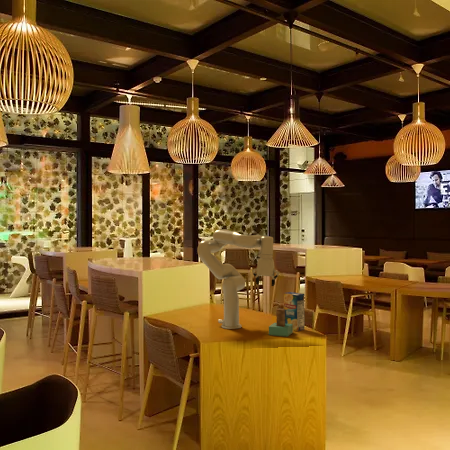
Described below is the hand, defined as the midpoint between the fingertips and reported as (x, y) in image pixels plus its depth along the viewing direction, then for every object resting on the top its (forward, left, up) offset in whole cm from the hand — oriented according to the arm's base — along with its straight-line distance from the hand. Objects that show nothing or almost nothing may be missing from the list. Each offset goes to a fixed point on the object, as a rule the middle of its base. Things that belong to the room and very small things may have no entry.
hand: (265, 285), depth 314 cm
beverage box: (+14, +13, -28) cm, 34 cm away
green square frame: (+10, -2, -28) cm, 30 cm away
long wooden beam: (+10, -2, -28) cm, 30 cm away
